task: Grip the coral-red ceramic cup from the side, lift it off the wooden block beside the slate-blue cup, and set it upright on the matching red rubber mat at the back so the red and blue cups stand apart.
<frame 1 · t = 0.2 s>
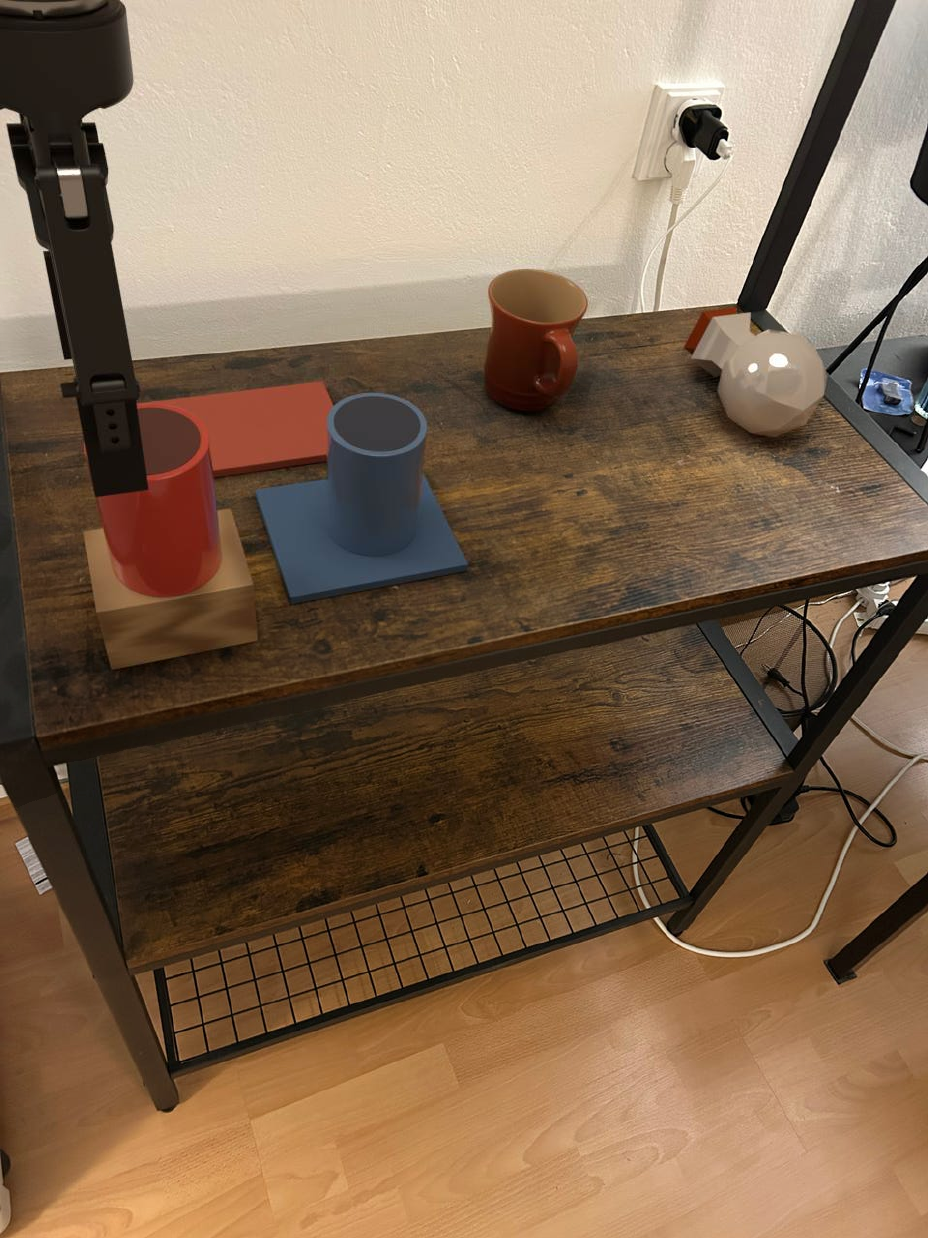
hand: (102, 417, 55), 18 cm above the table, tool pointing down, fingers open, 13 cm apart
wooden block: (177, 615, 70), on the table
potion bottle: (736, 407, 94), on the table
red cup: (167, 557, 65), point 6 cm above the table, touching wooden block
blue mat: (359, 533, 77), on the table
red mat: (223, 436, 83), on the table
mug: (526, 404, 91), on the table
blue cup: (371, 524, 77), point 1 cm above the table, touching blue mat
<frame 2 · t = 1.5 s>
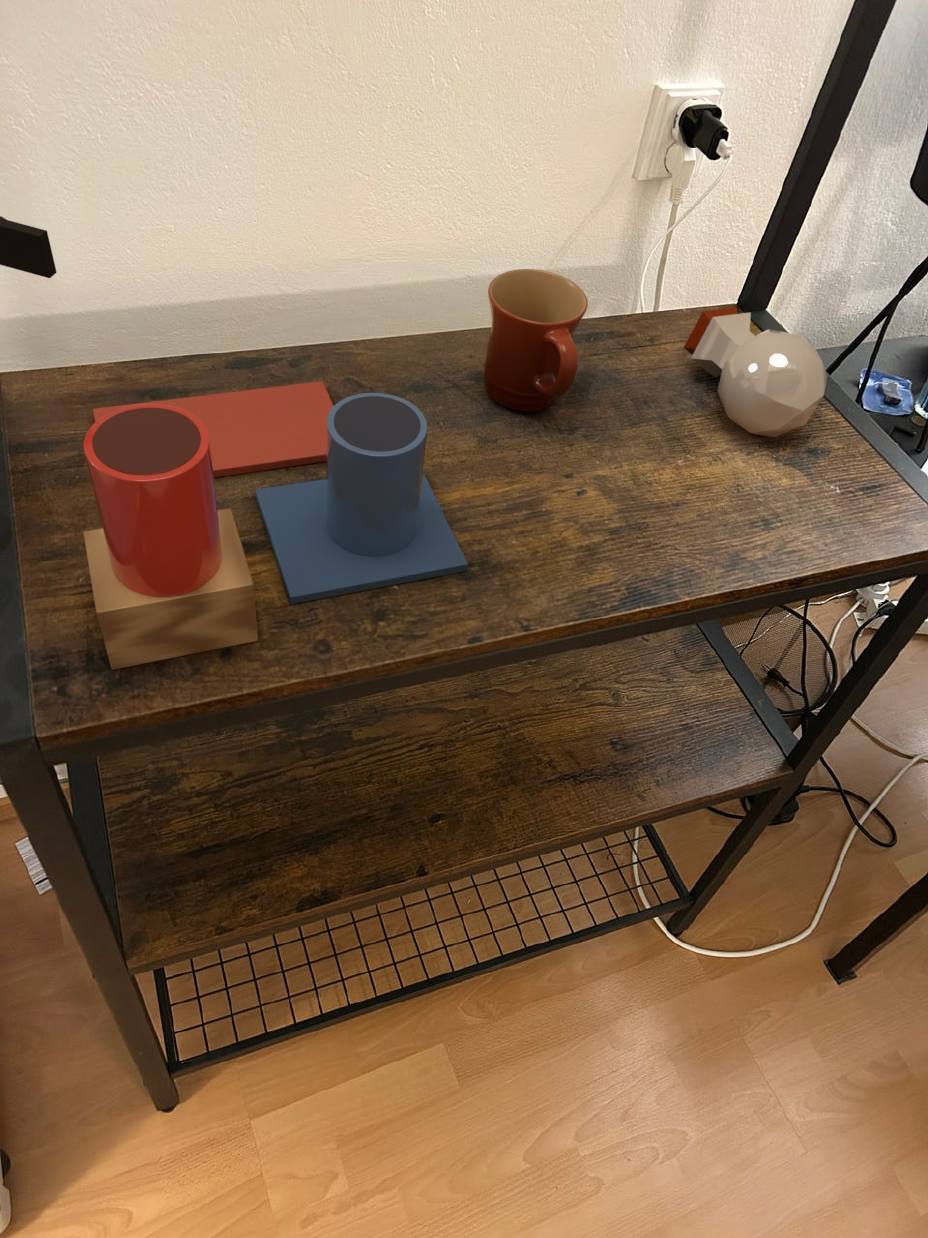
nothing on the table moved.
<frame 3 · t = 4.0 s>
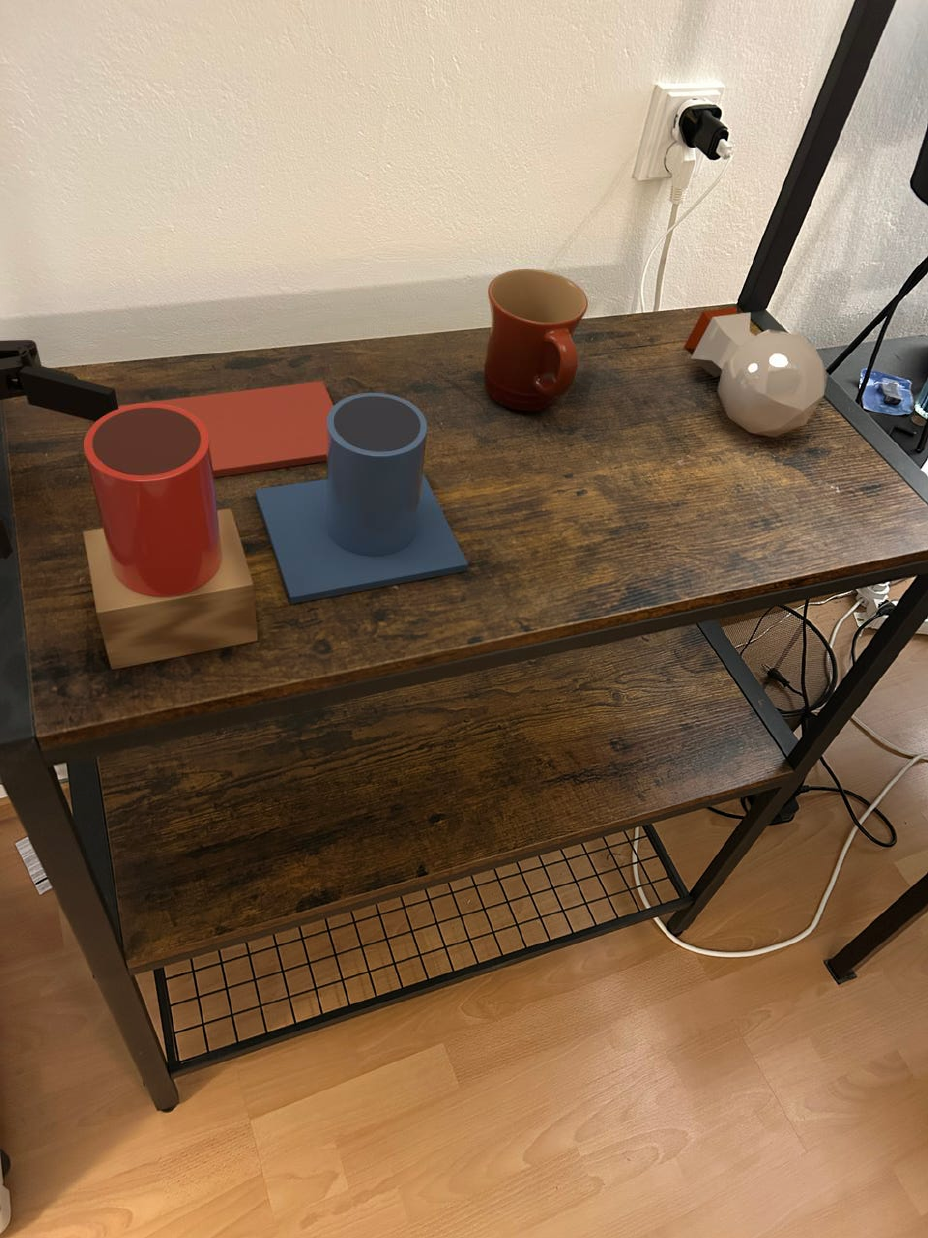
hand: (64, 469, 62), 11 cm above the table, tool horizontal, fingers open, 13 cm apart
nothing on the table moved.
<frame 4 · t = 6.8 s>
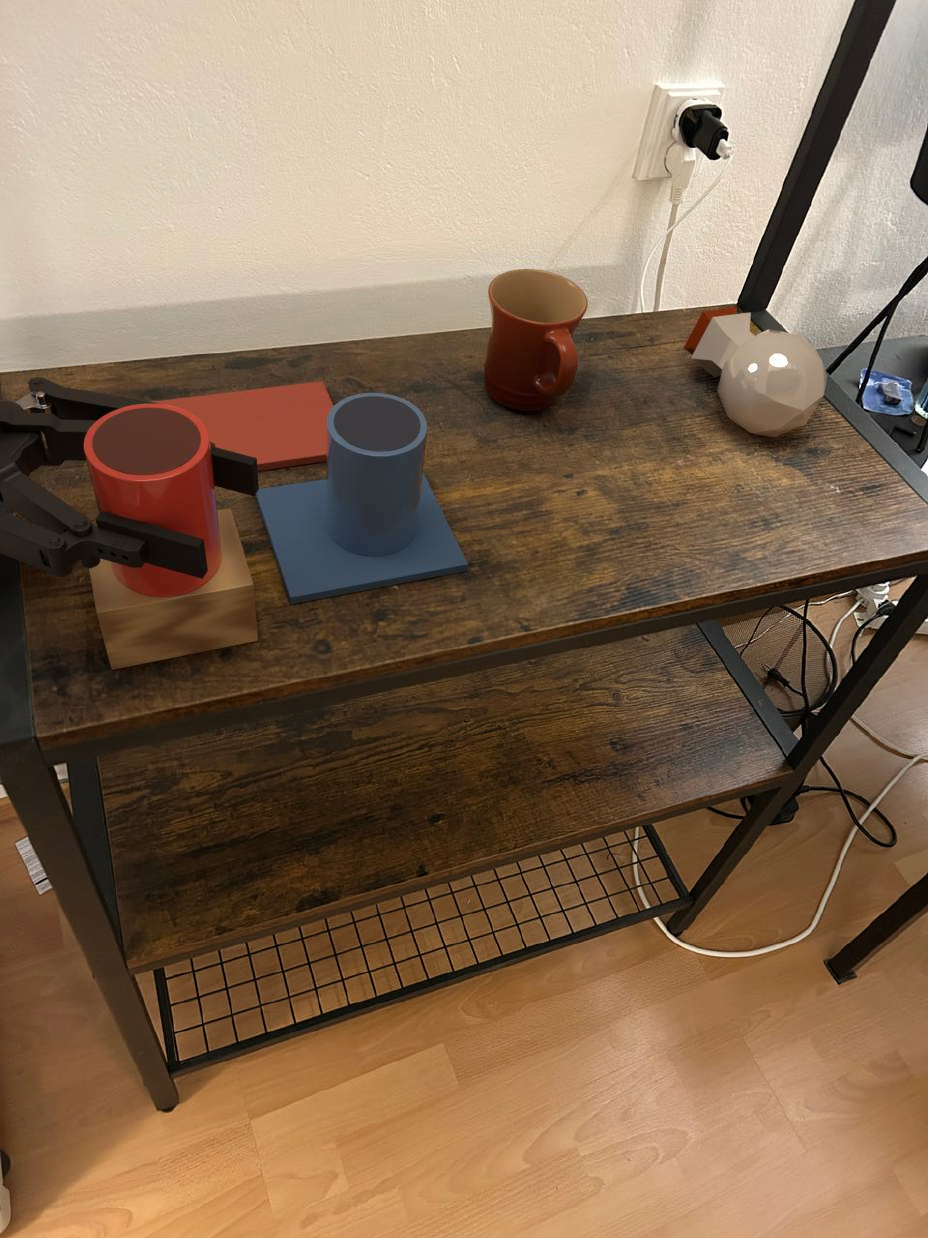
hand: (230, 516, 61), 12 cm above the table, tool horizontal, fingers closed on red cup, 7 cm apart
red cup: (167, 557, 65), point 6 cm above the table, touching wooden block, gripper
everything else where it was.
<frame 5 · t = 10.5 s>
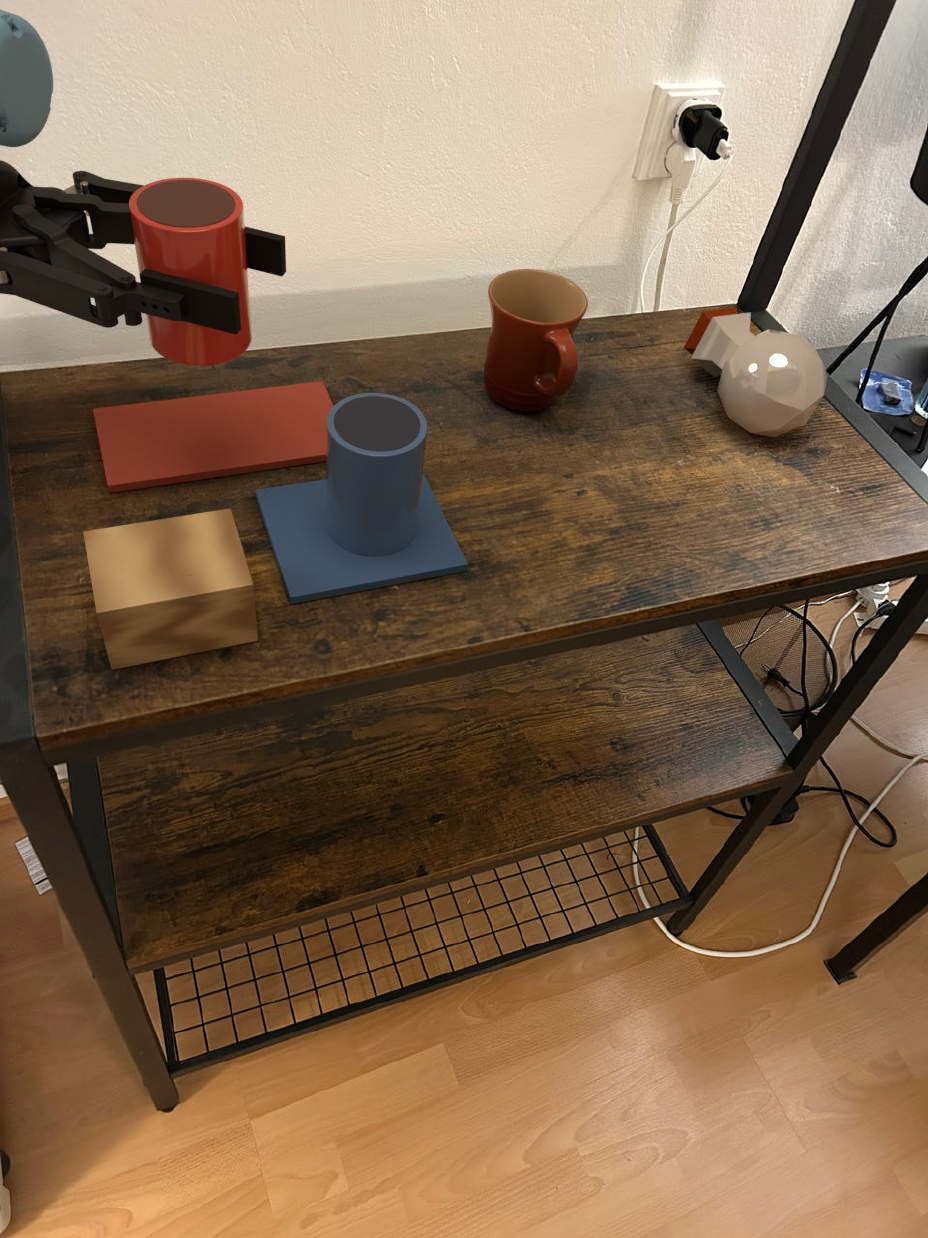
hand: (261, 283, 66), 18 cm above the table, tool horizontal, fingers closed on red cup, 7 cm apart
red cup: (201, 336, 70), point 13 cm above the table, touching gripper
everything else where it was.
when the fingers open (6 cm above the table, at t = 14.7 s): red cup stays where it is, resting on red mat.
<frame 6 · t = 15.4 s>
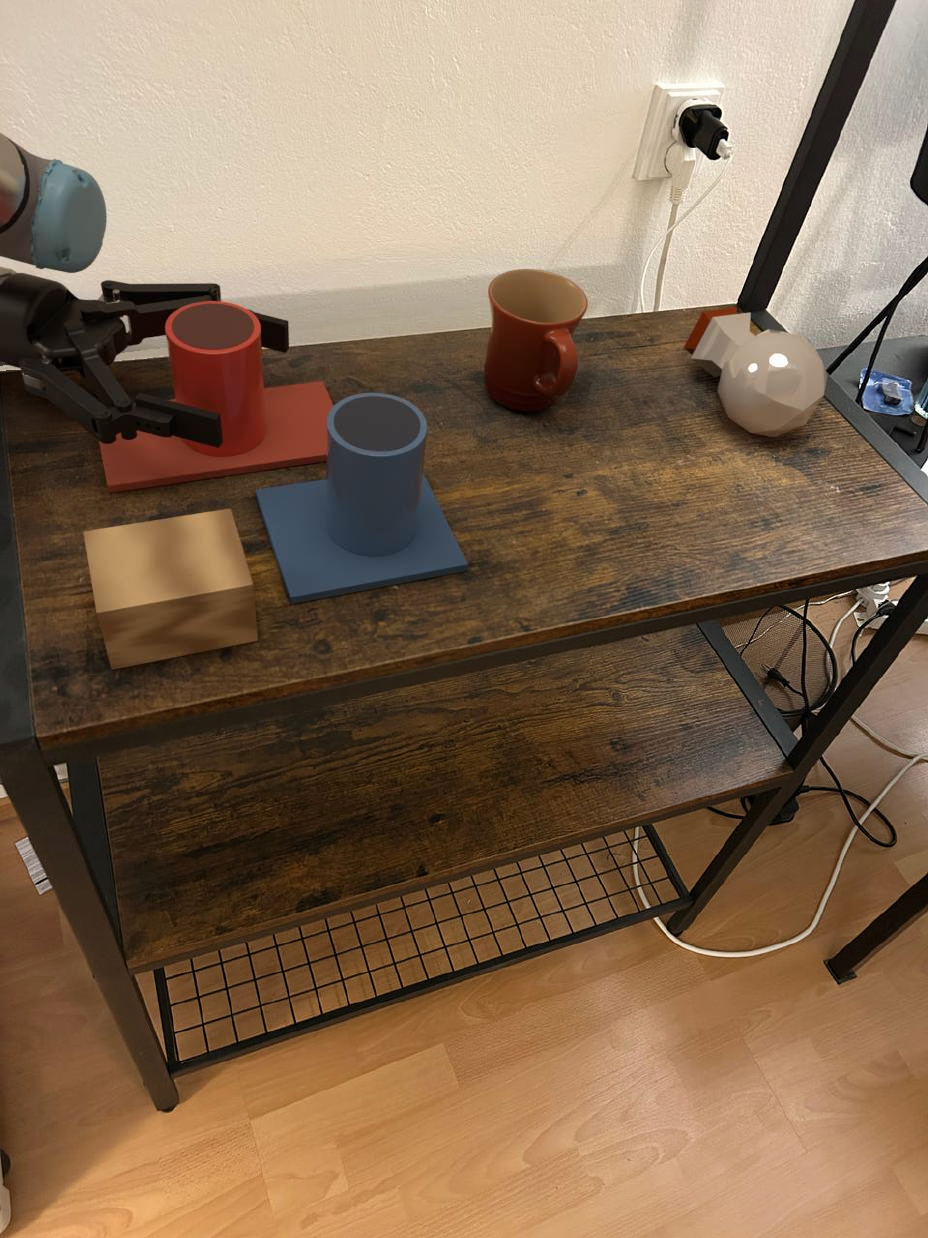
hand: (255, 381, 78), 7 cm above the table, tool horizontal, fingers open, 13 cm apart
red cup: (223, 429, 82), point 1 cm above the table, touching red mat
everything else where it was.
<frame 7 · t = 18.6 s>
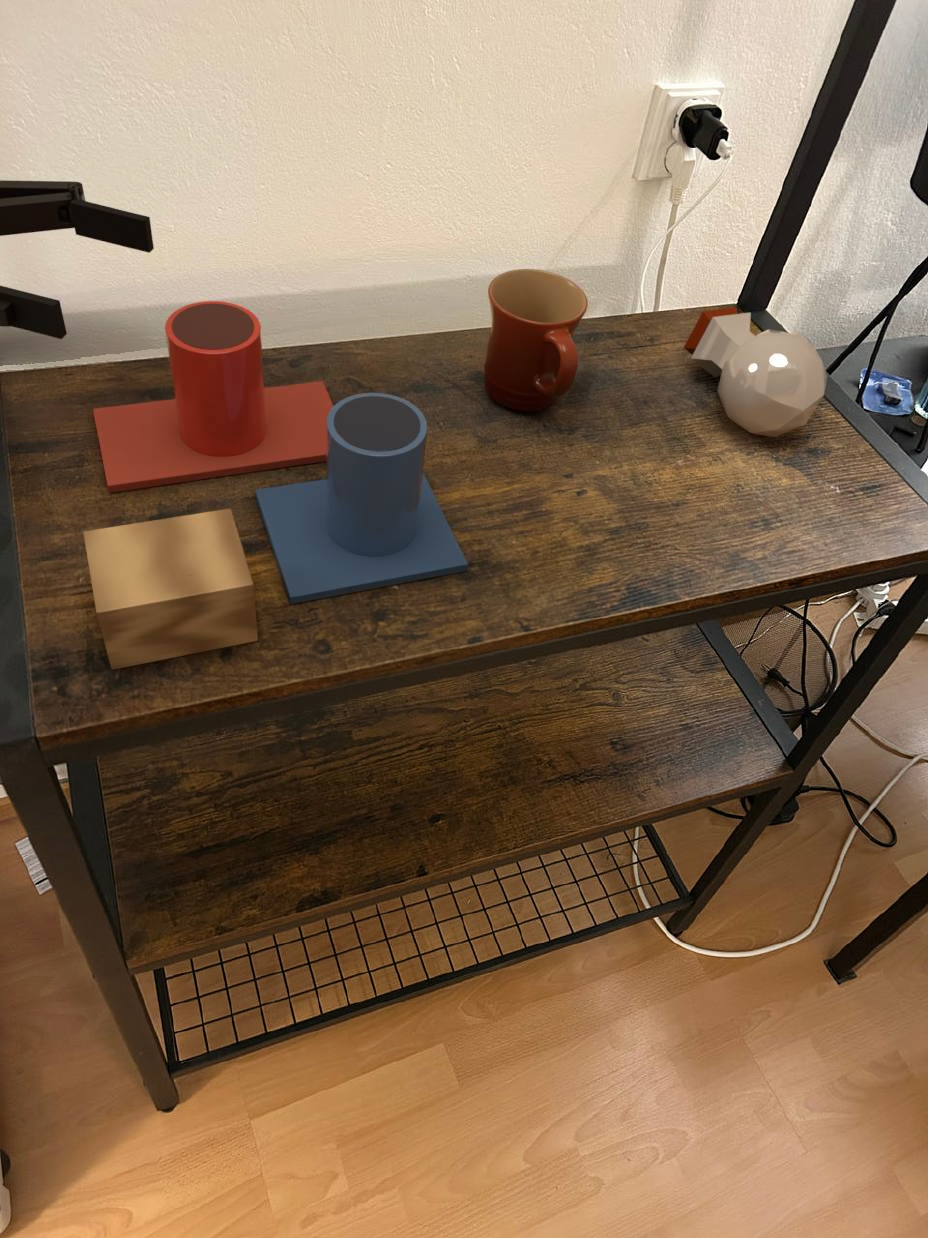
hand: (108, 275, 74), 13 cm above the table, tool horizontal, fingers open, 13 cm apart
nothing on the table moved.
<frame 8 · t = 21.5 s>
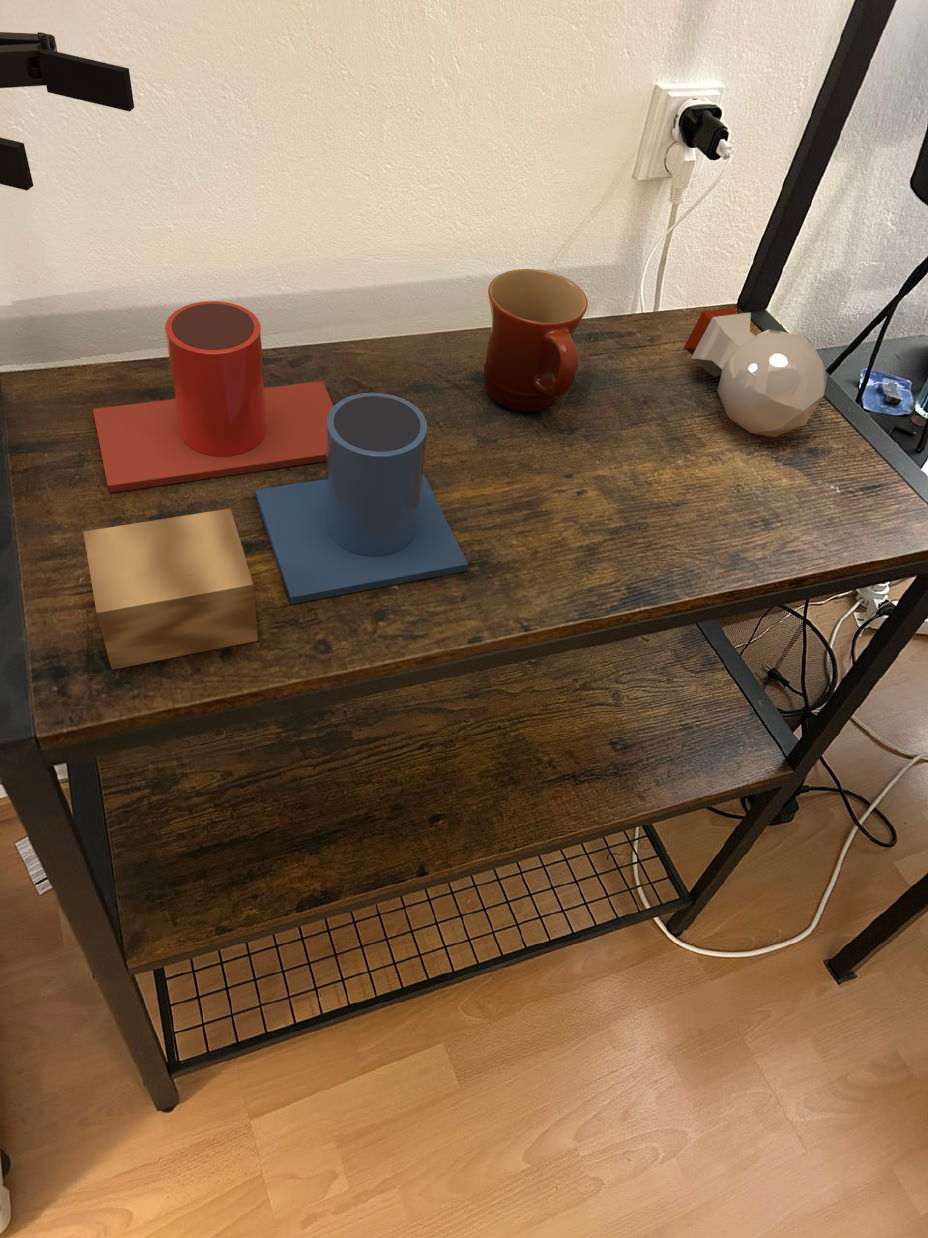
hand: (81, 126, 66), 24 cm above the table, tool horizontal, fingers open, 13 cm apart
nothing on the table moved.
at the end: red cup inside the target area on the red mat (0.0 cm from its centre), point 0.8 cm above the red mat's base; red cup tilted 0°; blue cup inside the target area on the blue mat (1.0 cm from its centre), point 0.8 cm above the blue mat's base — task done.
